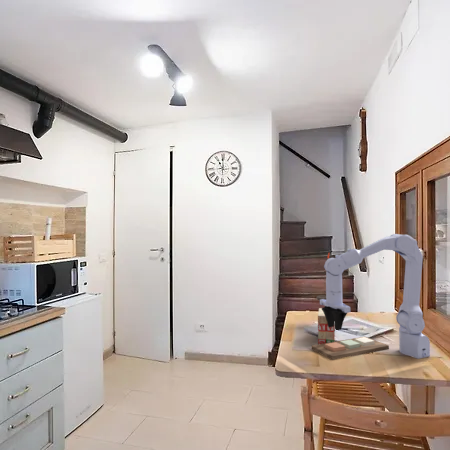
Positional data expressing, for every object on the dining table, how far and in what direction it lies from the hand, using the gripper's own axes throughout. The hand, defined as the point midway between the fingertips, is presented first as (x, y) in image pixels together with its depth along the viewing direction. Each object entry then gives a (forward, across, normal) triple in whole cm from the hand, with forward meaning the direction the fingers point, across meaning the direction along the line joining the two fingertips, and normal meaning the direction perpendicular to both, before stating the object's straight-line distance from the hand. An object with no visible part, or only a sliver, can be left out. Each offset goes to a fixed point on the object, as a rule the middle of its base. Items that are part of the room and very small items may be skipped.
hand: (334, 328), depth 133 cm
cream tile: (+9, 0, +14) cm, 16 cm away
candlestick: (+10, -28, +20) cm, 36 cm away
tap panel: (+10, 0, +7) cm, 12 cm away
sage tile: (+9, 0, +7) cm, 11 cm away
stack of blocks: (+10, -16, +9) cm, 20 cm away
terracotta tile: (+9, 0, 0) cm, 9 cm away
